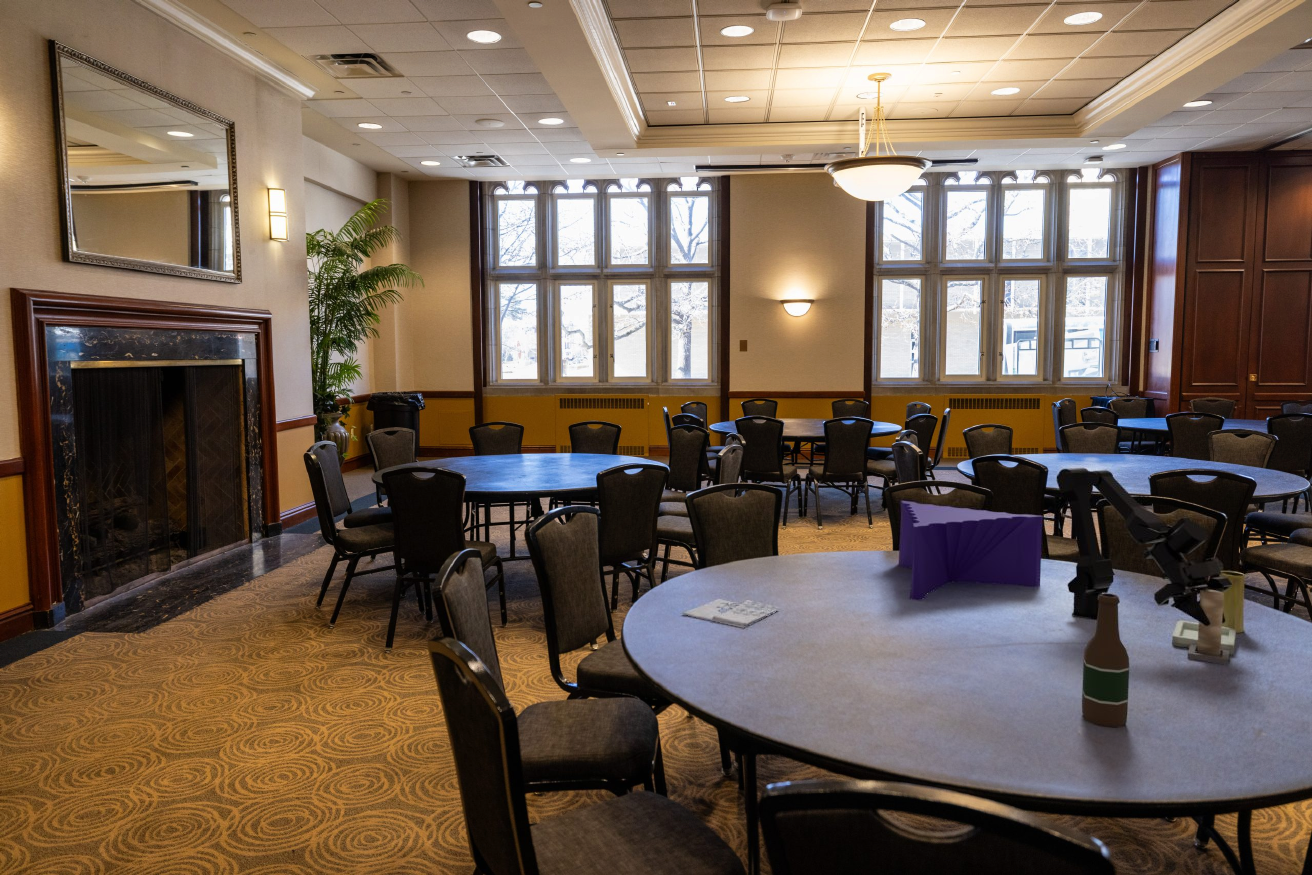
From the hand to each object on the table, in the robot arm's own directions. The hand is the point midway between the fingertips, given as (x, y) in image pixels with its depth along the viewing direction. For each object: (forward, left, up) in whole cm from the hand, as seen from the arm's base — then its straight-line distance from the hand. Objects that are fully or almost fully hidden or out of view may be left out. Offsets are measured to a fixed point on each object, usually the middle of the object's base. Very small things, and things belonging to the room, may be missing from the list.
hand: (1216, 623), depth 192 cm
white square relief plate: (-108, -31, -9) cm, 113 cm away
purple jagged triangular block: (-70, +28, -9) cm, 76 cm away
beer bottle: (-15, -50, -8) cm, 53 cm away
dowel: (-1, +1, -8) cm, 8 cm away
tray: (-3, +13, -8) cm, 15 cm away
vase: (+2, +27, -8) cm, 28 cm away
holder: (-1, +1, -8) cm, 8 cm away
